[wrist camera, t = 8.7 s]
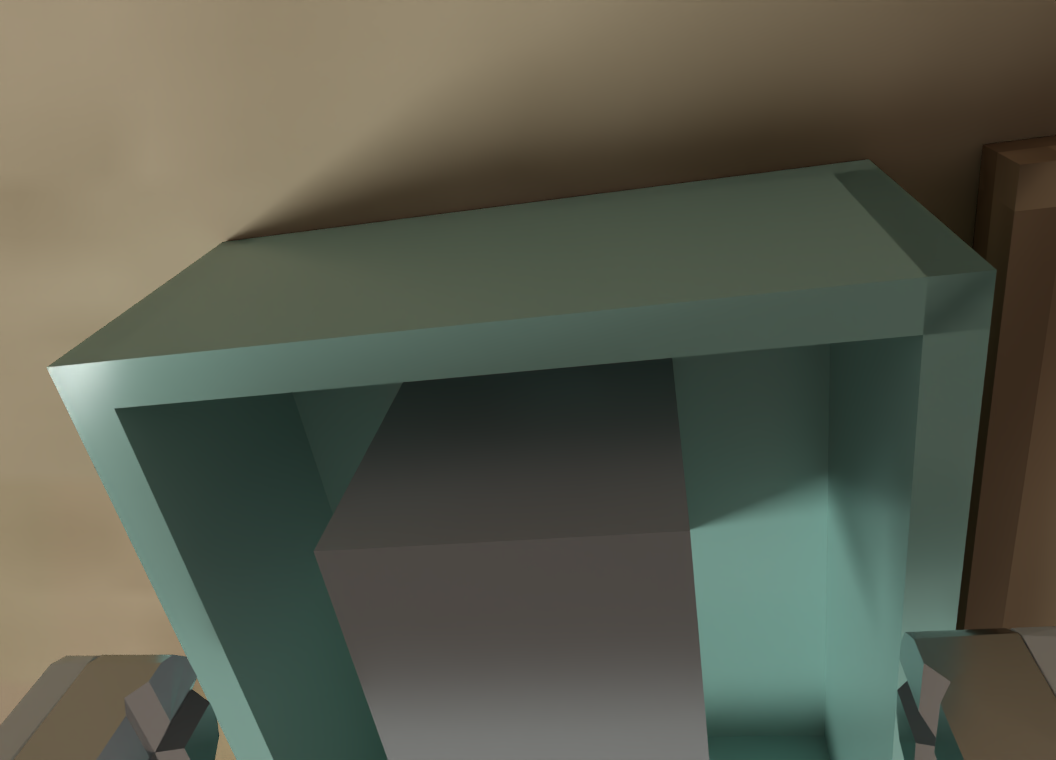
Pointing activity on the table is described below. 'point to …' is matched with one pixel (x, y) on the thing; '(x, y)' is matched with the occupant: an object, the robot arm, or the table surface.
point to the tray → (1015, 397)
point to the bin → (557, 342)
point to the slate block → (524, 569)
